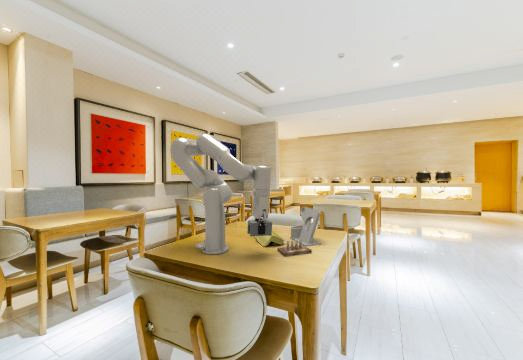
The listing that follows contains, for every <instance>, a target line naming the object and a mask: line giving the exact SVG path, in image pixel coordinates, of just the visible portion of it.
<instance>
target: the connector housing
mask: <svg viewBox="0 0 523 360" xmlns="http://www.w3.org/2000/svg"><path fill="white" fill-rule="evenodd" d="M262 221H263V220H261V222H262ZM258 225H259V220H255V219H248V220H247V235H249V236H250V237H256V236H270V235H272V231H273V221H271V220H270V219H267V222H266V227H265V234H261V235H259V234H258Z"/></svg>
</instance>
